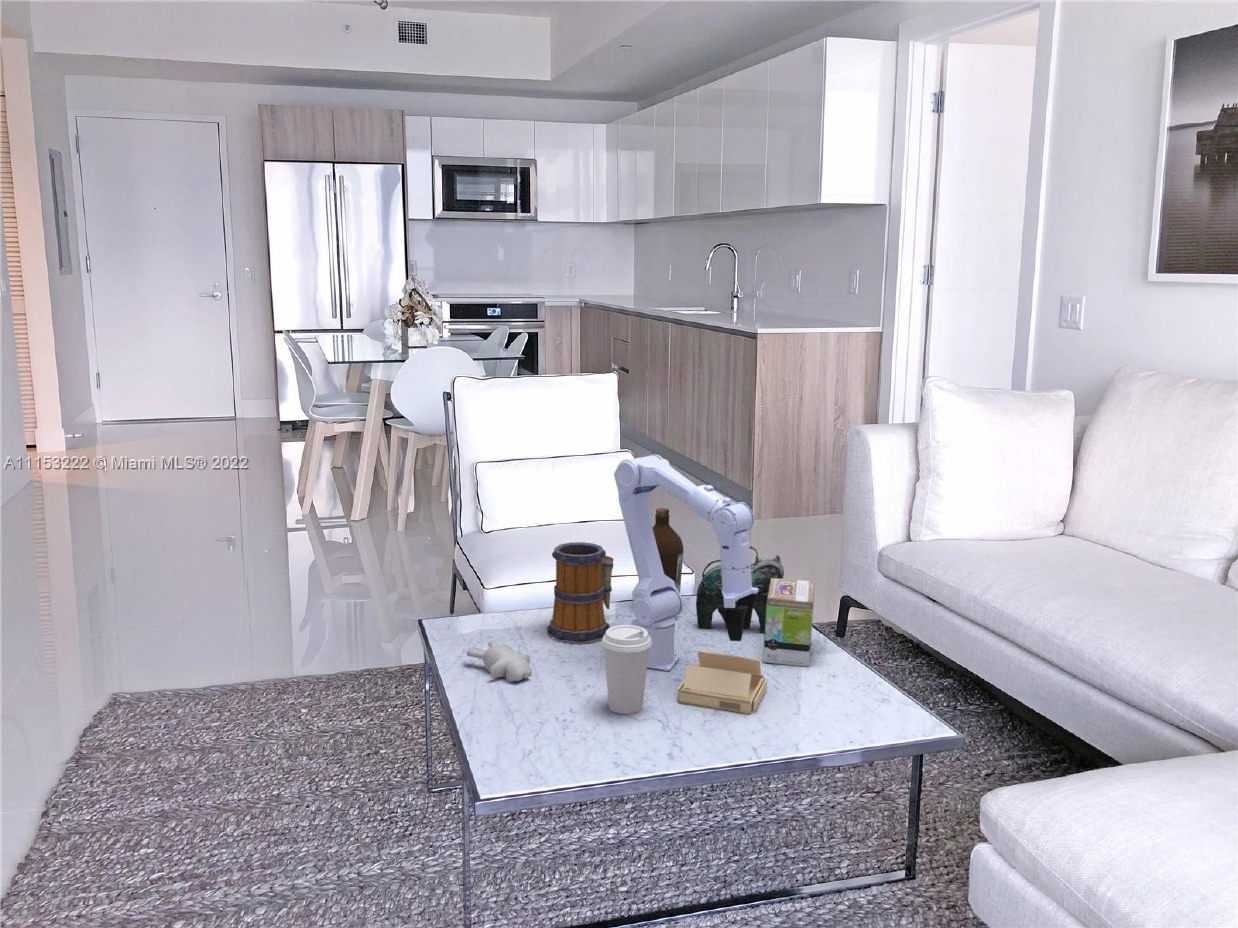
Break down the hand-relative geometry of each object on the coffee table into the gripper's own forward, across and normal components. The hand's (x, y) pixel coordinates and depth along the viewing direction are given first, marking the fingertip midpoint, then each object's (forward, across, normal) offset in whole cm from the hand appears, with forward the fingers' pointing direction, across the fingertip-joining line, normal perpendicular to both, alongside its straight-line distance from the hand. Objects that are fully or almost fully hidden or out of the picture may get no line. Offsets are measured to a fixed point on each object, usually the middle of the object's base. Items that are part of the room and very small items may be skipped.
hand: (740, 634), depth 194 cm
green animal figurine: (+10, +36, +9) cm, 38 cm away
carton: (+12, -1, +4) cm, 13 cm away
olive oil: (+7, +43, +30) cm, 53 cm away
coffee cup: (+11, -13, +20) cm, 26 cm away
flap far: (+9, +5, +4) cm, 11 cm away
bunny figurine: (+8, -6, +49) cm, 50 cm away
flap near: (+10, -7, +4) cm, 13 cm away
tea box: (+12, +26, -4) cm, 29 cm away
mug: (+7, +22, +42) cm, 48 cm away
